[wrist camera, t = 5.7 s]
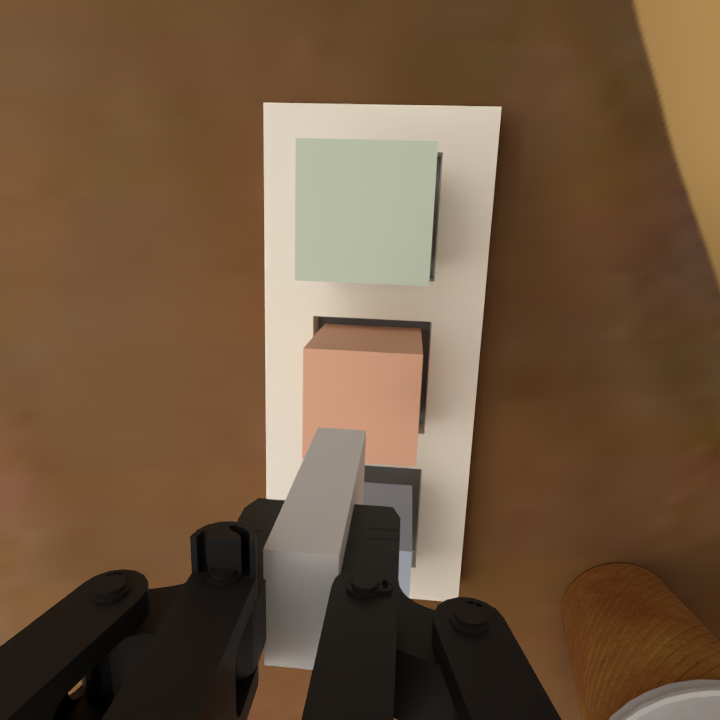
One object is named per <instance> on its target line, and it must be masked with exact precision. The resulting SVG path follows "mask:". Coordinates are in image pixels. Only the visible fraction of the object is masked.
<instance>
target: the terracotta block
mask: <svg viewBox="0 0 720 720" xmlns="http://www.w3.org/2000/svg"><path fill="white" fill-rule="evenodd" d="M422 365H423V347H422V335H421V328H405V327H385V326H365V325H345V324H324V325H323V327H322V328H321V329H320V330H319V331H318V332H317V333H316V334H315V336H314V337H313V338H312V339H311V340H310V341H309V342H308V343H307V345H306V346H305V347H304V348H303V432H302V459H304V457H305V455H306V453H307V451H308V449H309V446H310V444H311V442H312V440H313V437H314V435H315V433H316V431H317V429H318V427H320V428H335V429H351V430H366V446H365V463H369V464H383V465H397V466H411V467H416V460H417V444H418V428H419V412H420V396H421V381H422Z"/></svg>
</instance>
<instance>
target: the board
mask: <svg viewBox="0 0 720 720" xmlns="http://www.w3.org/2000/svg"><path fill="white" fill-rule="evenodd" d="M501 108H502V107H489V106H431V105H373V104H315V103H263V109H264V239H265V368H266V498H267V499H275V500H286V497H287V495H288V493H289V491H290V489H291V486H292V484H293V482H294V480H295V477H296V475H297V473H298V471H299V469H300V466H301V464H302V462H303V460H304V459H302V432H303V348H304V347H305V346H306V345H307V343H308V342H309V341H310V340H311V339H312V338H313V337H314V336H315V334H316V333H317V332H318V331H319V330H320V329H321V328H322V327H323V325H324V324H345V325H365V326H385V327H405V328H421V335H422V347H423V365H422V381H421V396H420V412H419V428H418V444H417V460H416V467H411V466H397V465H383V464H369V463H365V472H364V482H368V483H382V484H396V485H410V486H412V562H411V578H410V593H409V598H411V599H422V600H433V601H445V600H447V599H452V598H456V597H458V595H459V583H460V572H461V561H462V549H463V538H464V527H465V516H466V504H467V493H468V482H469V470H470V459H471V448H472V436H473V425H474V414H475V402H476V391H477V380H478V368H479V357H480V346H481V335H482V323H483V312H484V301H485V289H486V278H487V267H488V255H489V244H490V233H491V221H492V210H493V199H494V187H495V176H496V165H497V153H498V142H499V131H500V120H501ZM296 138H317V139H362V140H406V141H438V154H437V170H436V185H435V201H434V217H433V232H432V248H431V264H430V279H429V286H412V285H389V284H366V283H343V282H320V281H297V280H295V169H296Z"/></svg>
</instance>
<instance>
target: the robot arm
mask: <svg viewBox="0 0 720 720" xmlns="http://www.w3.org/2000/svg"><path fill="white" fill-rule="evenodd" d="M365 446H366V430H351V429H335V428H320V427H318V429H317V431H316V433H315V435H314V437H313V440H312V442H311V444H310V446H309V449H308V451H307V453H306V455H305V457H304V460H303V462H302V464H301V466H300V469H299V471H298V473H297V475H296V477H295V480H294V482H293V484H292V486H291V489H290V491H289V493H288V495H287V497H286V500H275V499H261V498H258V499H257V500H255V501H254V502H252V503H251V504H249V505H248V506H247V507H245V508H244V510H243V512H242V513H241V515H240V517H239V519H238V521H237V522H218V523H213V524H209V525H206V526H204V527H202V528H200V529H198V530H197V531H196V532H195V533H193V534H192V535H191V536H190V541H191V562H192V574H191V575H190V577H189V578H188V580H187V582H186V583H184V584H180V585H176V586H170V587H163V588H155V589H149V587H148V581H147V579H146V577H145V576H144V575H143V574H141V573H139V572H137V571H133V570H124V569H123V570H114V571H109V572H106V573H103V574H100V575H97V576H95V577H93V578H91V579H90V580H88V581H86V582H84V583H83V584H82V585H80V586H79V587H78V588H77V589H75V590H74V591H73V592H71V593H70V594H69V595H67V596H66V597H65V598H63V599H62V600H61V601H60V602H58V603H57V604H56V605H54V606H53V607H52V608H50V609H49V610H48V611H46V612H45V613H44V614H42V615H41V616H40V617H39V618H37V619H36V620H35V621H33V622H32V623H31V624H29V625H28V626H27V627H25V628H24V629H23V630H22V631H20V632H19V633H18V634H16V635H15V636H14V637H12V638H11V639H10V640H8V641H7V642H6V643H5V644H3V645H2V646H1V647H0V720H247V717H248V714H249V711H250V708H251V705H252V702H253V699H254V696H255V693H256V690H257V687H258V677H259V674H258V662H259V659H260V656H261V653H262V651H263V648H264V661H265V665H269V666H279V667H289V668H299V669H309V670H313V671H312V676H311V680H310V685H309V689H308V694H307V698H306V703H305V707H304V712H303V716H302V720H393V718H395V719H398V720H561V718H560V716H559V715H558V713H557V711H556V709H555V707H554V706H553V704H552V702H551V700H550V699H549V697H548V695H547V693H546V692H545V690H544V688H543V686H542V685H541V683H540V681H539V679H538V677H537V676H536V674H535V672H534V670H533V669H532V667H531V665H530V663H529V662H528V660H527V658H526V656H525V655H524V653H523V651H522V649H521V647H520V646H519V644H518V642H517V640H516V639H515V637H514V635H513V633H512V632H511V630H510V628H509V626H508V625H507V623H506V621H505V619H504V618H503V617H502V615H501V614H500V613H499V612H498V611H497V610H496V609H495V608H493V607H492V606H490V605H489V604H487V603H485V602H483V601H480V600H476V599H473V598H464V597H456V598H452V599H447V600H445V601H444V602H442V603H441V604H439V605H438V606H437V608H436V610H432V609H429V608H426V607H424V606H422V605H419V604H417V603H415V602H414V601H412V600H411V599H409V598H408V597H407V596H406V595H405V594H404V593H403V591H402V590H401V588H400V586H399V580H398V575H399V547H400V520H401V518H400V517H399V515H398V514H397V512H396V511H395V509H394V508H393V507H387V506H373V505H363V498H364V472H365ZM81 679H82V685H81V686H80V687H79V688H78V689H77V690H76V691H75V692H74V693H72V694H71V695H68V692H69V691H70V690H71V689H72V688H73V687H74V686H75V685H76V684H77V683H78V682H79V681H80V680H81Z"/></svg>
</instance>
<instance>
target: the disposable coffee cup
mask: <svg viewBox="0 0 720 720" xmlns="http://www.w3.org/2000/svg"><path fill="white" fill-rule="evenodd" d="M561 615H562V620H563V625H564V630H565V635H566V639H567V645H568V650H569V655H570V659H571V665H572V669H573V675H574V680H575V685H576V690H577V695H578V700H579V705H580V710H581V715H582V719H583V720H720V641H719V640H718V639H717V638H716V637H715V636H714V635H713V634H712V632H710V631H709V630H708V629H707V628H706V627H705V626H704V624H703V623H702V622H701V621H700V620H699V619H698V618H697V617H696V616H695V615H694V614H693V613H692V612H691V611H690V610H689V609H688V608H687V607H686V606H685V605H684V604H683V603H682V602H681V601H680V600H679V599H678V598H677V597H676V596H675V595H674V594H673V593H672V592H671V591H670V589H669V588H668V587H667V586H666V585H665V584H664V583H663V582H662V581H661V580H660V579H659V578H658V577H657V576H656V575H655V574H653V573H652V572H650V571H649V570H647V569H644V568H642V567H639V566H636V565H632V564H627V563H612V564H605V565H601V566H598V567H594V568H592V569H590V570H588V571H586V572H584V573H583V574H582V575H580V576H579V577H578V578H576V579H575V580H574V582H573V583H572V584H571V585H570V586H569V588H568V589H567V591H566V593H565V595H564V598H563V601H562V609H561Z"/></svg>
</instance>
